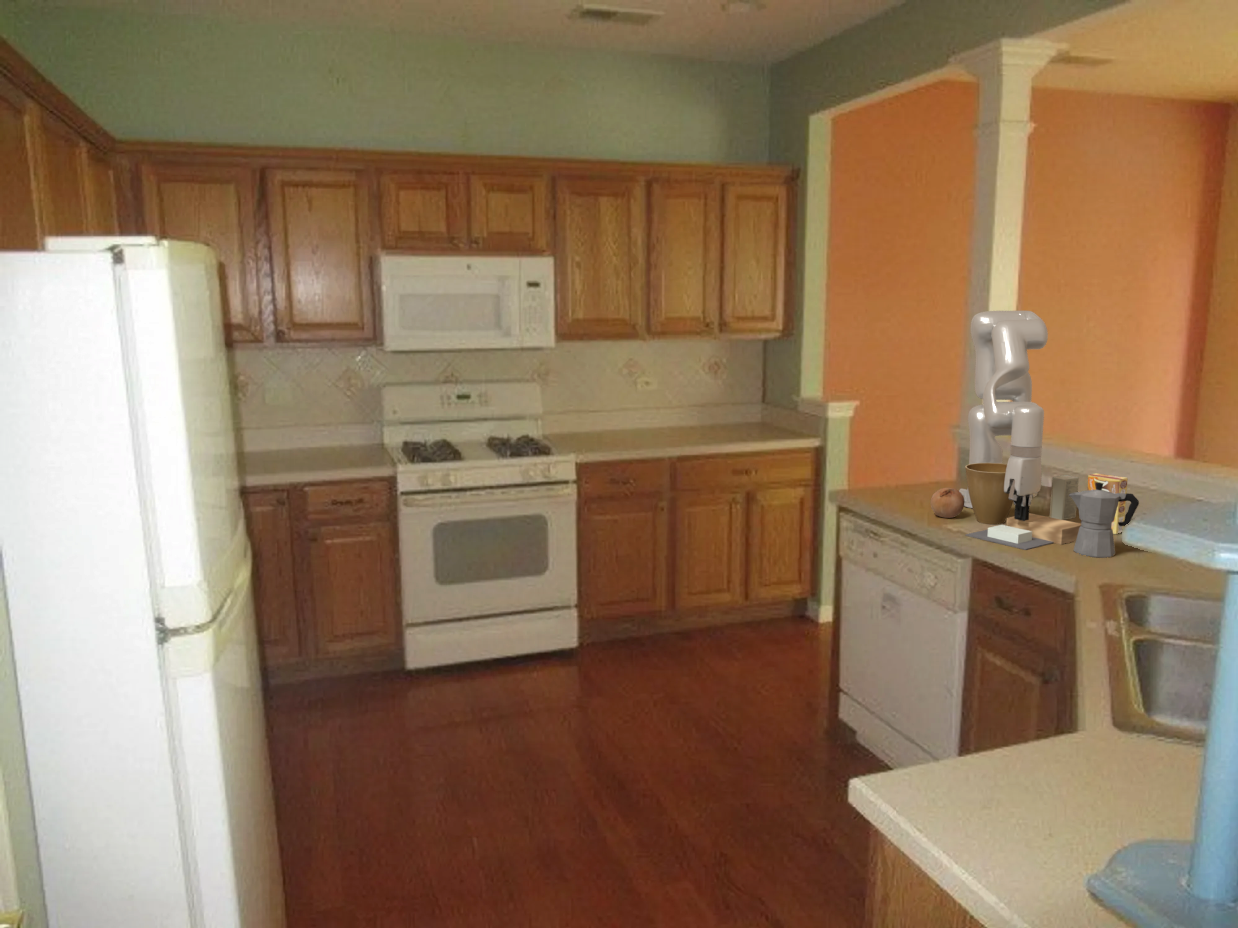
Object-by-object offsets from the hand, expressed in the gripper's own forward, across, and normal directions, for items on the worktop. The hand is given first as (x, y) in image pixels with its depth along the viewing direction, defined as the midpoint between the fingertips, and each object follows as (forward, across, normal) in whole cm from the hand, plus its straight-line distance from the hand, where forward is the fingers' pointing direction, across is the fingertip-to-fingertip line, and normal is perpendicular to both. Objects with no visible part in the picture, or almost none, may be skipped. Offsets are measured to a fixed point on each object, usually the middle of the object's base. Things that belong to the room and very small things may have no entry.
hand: (1021, 519), depth 237 cm
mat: (+5, +5, 0) cm, 7 cm away
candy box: (+5, -24, +9) cm, 26 cm away
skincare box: (+5, -29, -6) cm, 30 cm away
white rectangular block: (+2, +5, 0) cm, 5 cm away
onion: (+5, -3, -26) cm, 27 cm away
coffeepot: (+5, -1, +21) cm, 22 cm away
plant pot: (+5, -8, -15) cm, 18 cm away
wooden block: (+5, -6, +3) cm, 8 cm away
